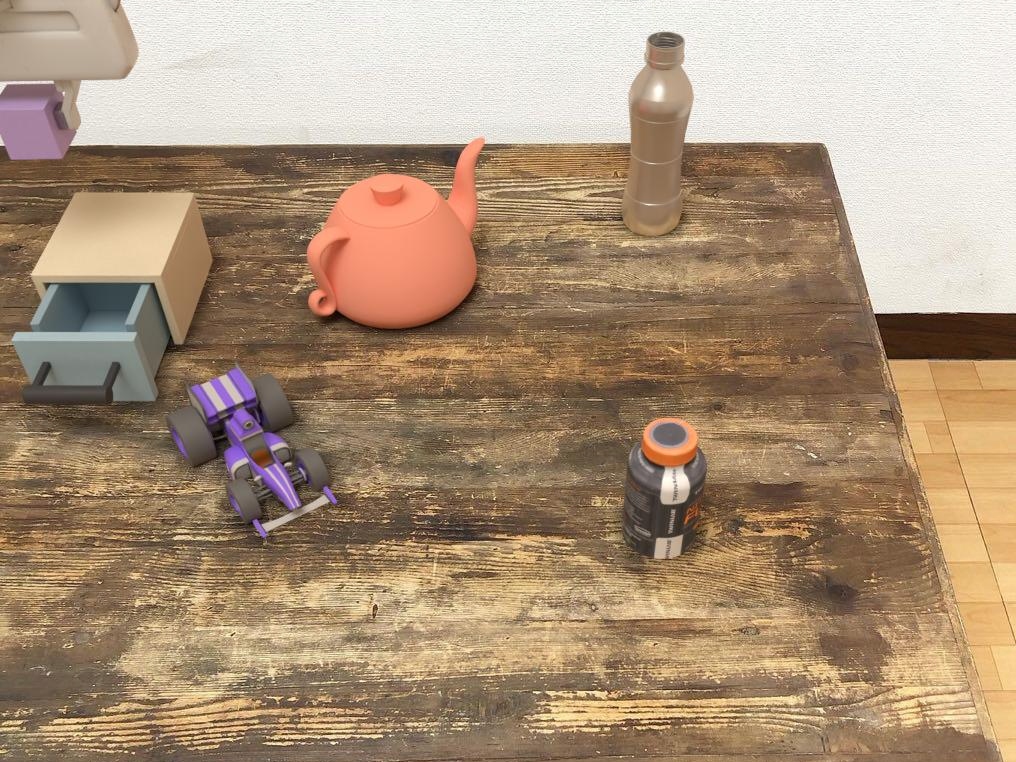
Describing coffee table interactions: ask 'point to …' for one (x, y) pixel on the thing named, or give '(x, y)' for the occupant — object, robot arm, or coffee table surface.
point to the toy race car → (248, 443)
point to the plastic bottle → (657, 137)
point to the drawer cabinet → (132, 248)
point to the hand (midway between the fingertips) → (36, 127)
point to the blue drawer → (94, 344)
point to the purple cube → (32, 122)
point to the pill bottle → (664, 490)
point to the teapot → (397, 249)
